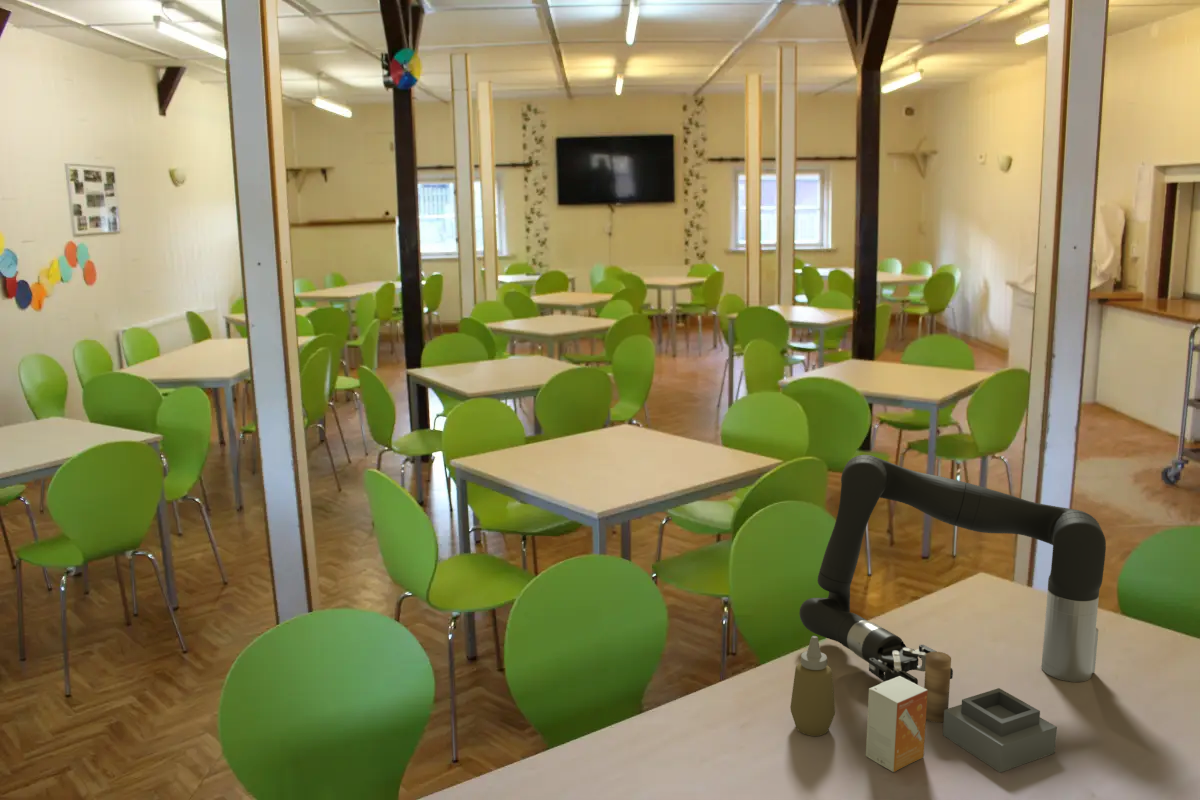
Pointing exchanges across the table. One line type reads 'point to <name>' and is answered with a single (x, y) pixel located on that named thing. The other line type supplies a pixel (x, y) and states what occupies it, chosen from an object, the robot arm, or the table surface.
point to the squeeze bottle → (813, 692)
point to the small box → (896, 723)
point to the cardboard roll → (937, 685)
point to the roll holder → (999, 730)
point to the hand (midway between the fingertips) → (934, 679)
